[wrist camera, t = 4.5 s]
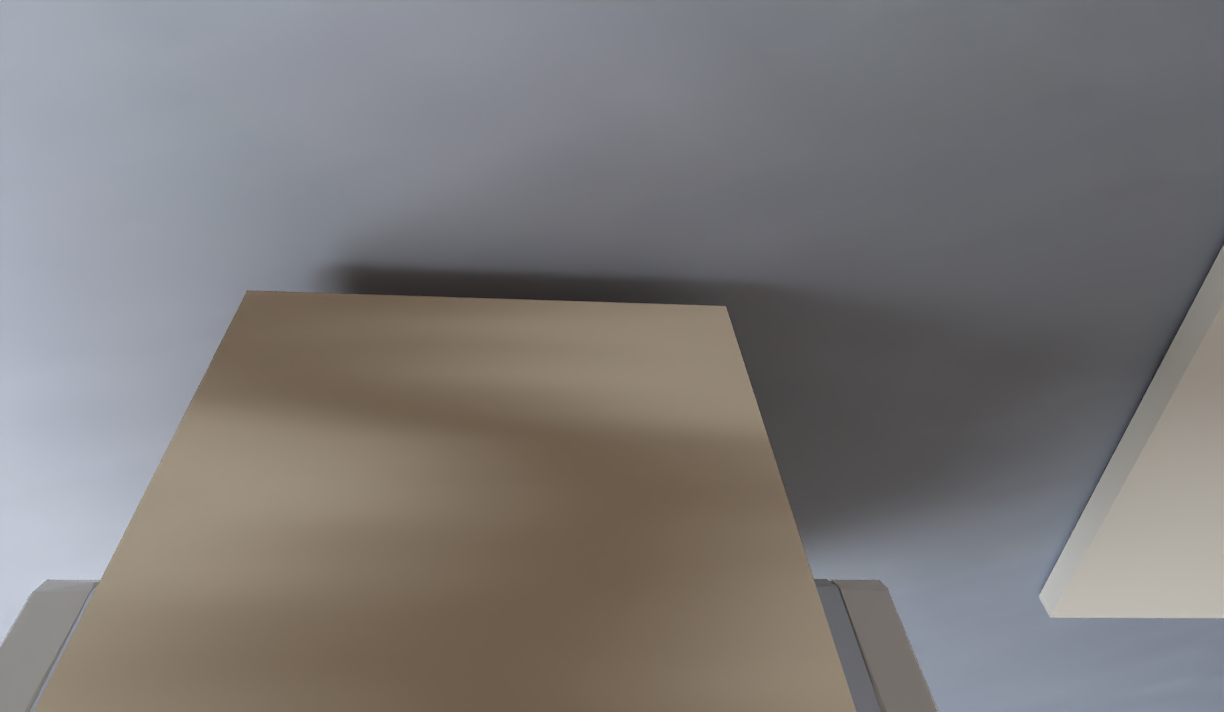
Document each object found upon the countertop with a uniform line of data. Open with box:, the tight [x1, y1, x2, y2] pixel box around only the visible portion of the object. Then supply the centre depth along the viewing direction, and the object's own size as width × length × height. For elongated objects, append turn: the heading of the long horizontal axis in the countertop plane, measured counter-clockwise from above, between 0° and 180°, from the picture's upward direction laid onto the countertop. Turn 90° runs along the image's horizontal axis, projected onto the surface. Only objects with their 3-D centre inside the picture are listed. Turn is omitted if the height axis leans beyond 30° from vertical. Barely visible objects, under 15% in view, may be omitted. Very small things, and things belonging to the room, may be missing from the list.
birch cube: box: [34, 291, 856, 712], centre depth 9 cm, size 5×5×5 cm
